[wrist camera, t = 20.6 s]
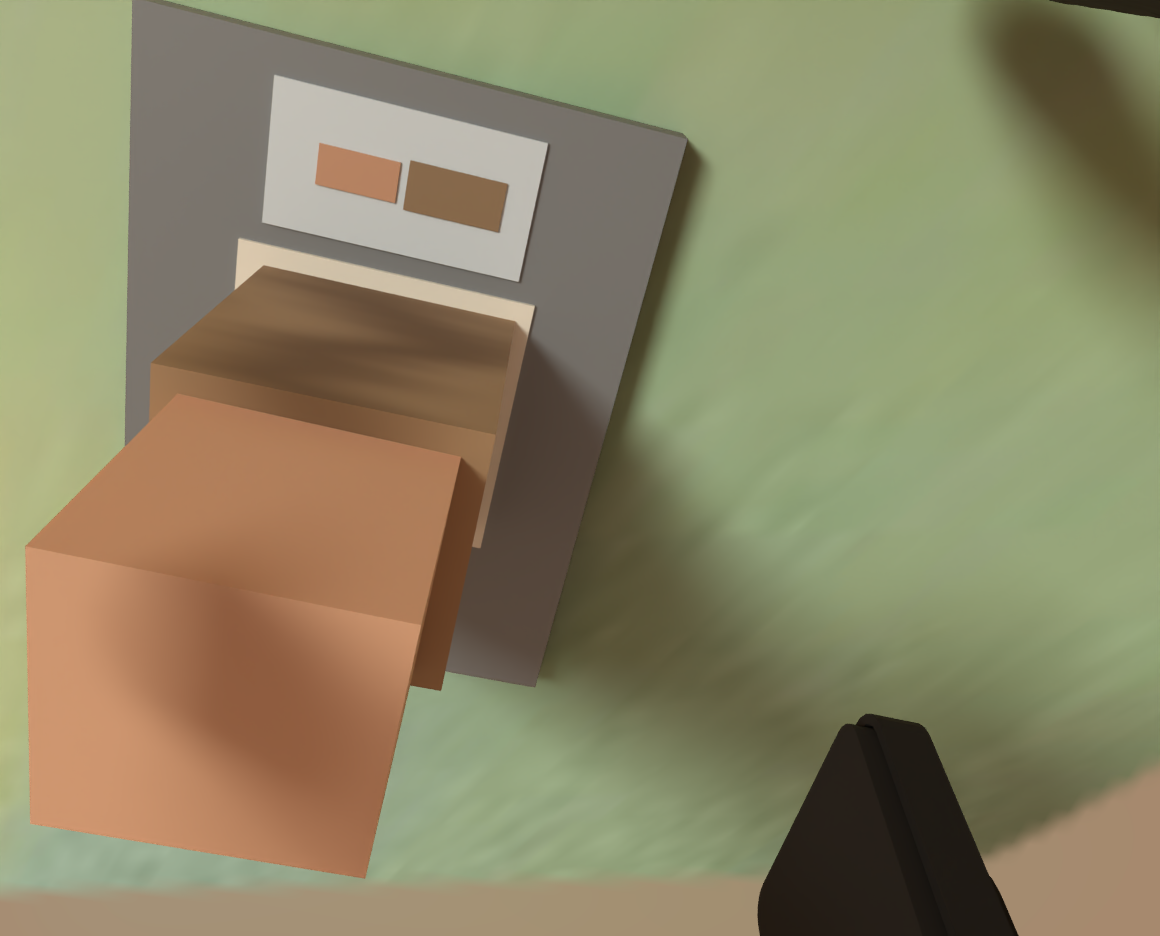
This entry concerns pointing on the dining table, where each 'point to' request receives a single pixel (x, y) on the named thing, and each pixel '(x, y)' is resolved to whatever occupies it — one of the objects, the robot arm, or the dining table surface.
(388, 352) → the walnut cube
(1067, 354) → the dining table surface
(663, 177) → the board
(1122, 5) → the milk frother
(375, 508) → the terracotta block
